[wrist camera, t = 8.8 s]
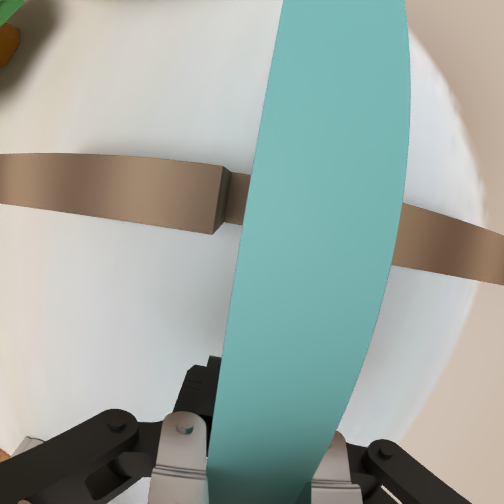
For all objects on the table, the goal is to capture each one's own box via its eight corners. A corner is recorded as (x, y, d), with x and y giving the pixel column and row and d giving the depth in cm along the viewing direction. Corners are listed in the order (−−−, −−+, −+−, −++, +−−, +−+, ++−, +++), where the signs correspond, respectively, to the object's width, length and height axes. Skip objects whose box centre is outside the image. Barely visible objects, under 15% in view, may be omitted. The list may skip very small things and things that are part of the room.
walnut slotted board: (71, 193, 18) (-6, 202, 10) (75, 160, 18) (-2, 154, 10) (441, 255, 19) (512, 287, 11) (448, 223, 18) (523, 243, 10)
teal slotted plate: (278, 52, 13) (302, -91, 3) (323, 62, 13) (389, -67, 3) (220, 399, 16) (196, 543, 6) (261, 405, 16) (266, 550, 6)
